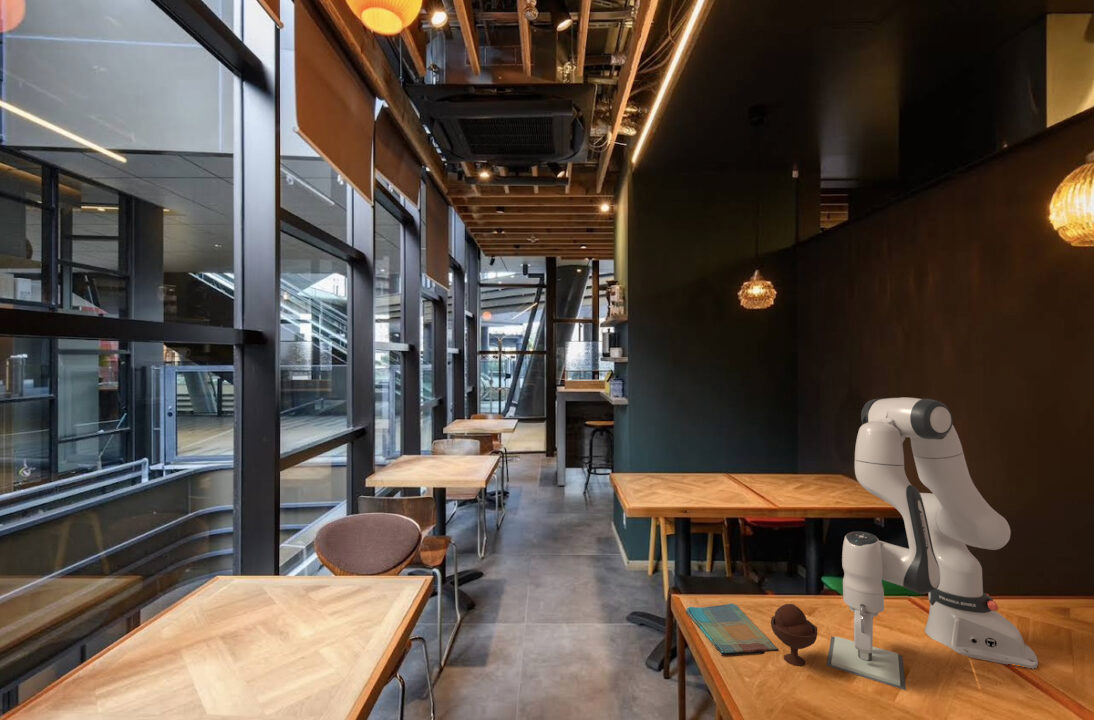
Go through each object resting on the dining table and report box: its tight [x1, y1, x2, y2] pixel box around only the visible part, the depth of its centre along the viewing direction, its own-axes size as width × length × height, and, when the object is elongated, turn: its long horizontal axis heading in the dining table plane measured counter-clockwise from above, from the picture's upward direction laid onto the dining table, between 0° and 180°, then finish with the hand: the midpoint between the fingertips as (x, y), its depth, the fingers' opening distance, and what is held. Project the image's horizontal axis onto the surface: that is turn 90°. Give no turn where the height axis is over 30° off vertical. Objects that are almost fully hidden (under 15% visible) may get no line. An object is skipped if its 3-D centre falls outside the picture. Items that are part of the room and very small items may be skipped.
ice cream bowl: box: [770, 603, 818, 667], centre depth 120 cm, size 11×11×15 cm
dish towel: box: [685, 603, 780, 657], centre depth 135 cm, size 17×23×2 cm
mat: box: [826, 636, 907, 691], centre depth 119 cm, size 16×16×1 cm
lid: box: [831, 635, 900, 686], centre depth 119 cm, size 14×14×5 cm
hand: (864, 651), depth 119 cm, fingers open, 5 cm apart
